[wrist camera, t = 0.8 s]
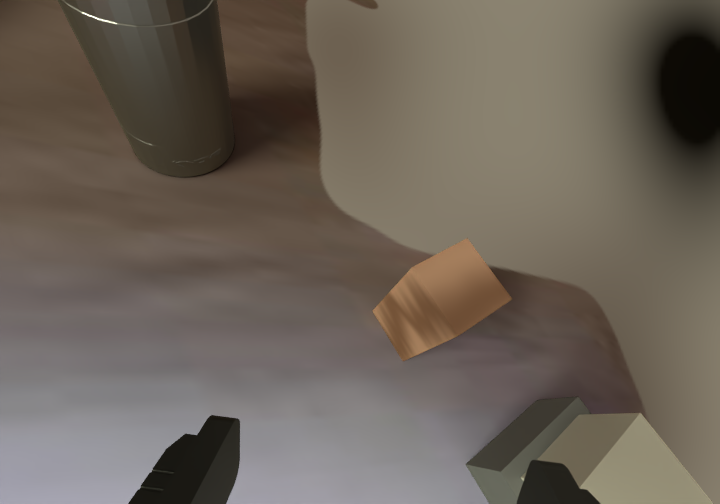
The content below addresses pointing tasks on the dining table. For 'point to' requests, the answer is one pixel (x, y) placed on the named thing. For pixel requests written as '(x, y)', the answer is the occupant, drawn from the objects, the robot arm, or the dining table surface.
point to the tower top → (623, 461)
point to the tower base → (521, 447)
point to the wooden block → (439, 300)
